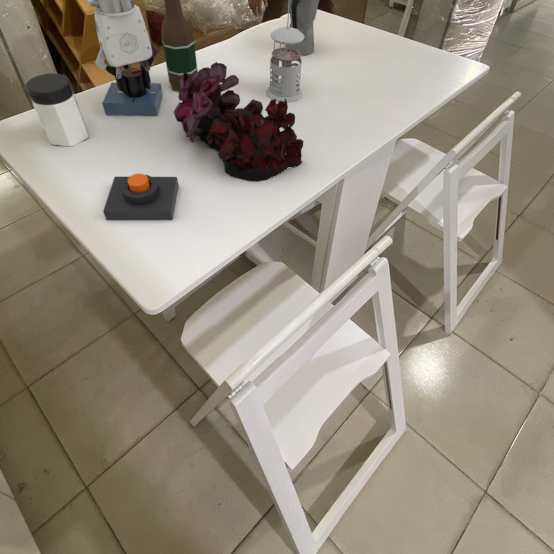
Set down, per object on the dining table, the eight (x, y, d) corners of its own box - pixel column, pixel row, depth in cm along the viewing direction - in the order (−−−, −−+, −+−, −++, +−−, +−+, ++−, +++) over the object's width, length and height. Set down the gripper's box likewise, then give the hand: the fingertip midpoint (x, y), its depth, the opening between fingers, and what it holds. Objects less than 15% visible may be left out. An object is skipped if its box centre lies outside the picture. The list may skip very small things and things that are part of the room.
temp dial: (130, 99, 94) (125, 77, 90) (123, 90, 96) (117, 69, 92) (150, 94, 96) (145, 72, 92) (141, 86, 98) (137, 64, 94)
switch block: (106, 220, 73) (99, 203, 70) (117, 185, 79) (111, 168, 76) (172, 220, 74) (168, 203, 71) (178, 185, 80) (175, 169, 77)
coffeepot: (292, 38, 127) (297, -31, 113) (320, 44, 125) (328, -26, 111) (275, 57, 118) (277, -15, 103) (305, 64, 116) (311, -10, 102)
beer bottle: (163, 84, 105) (143, -27, 86) (188, 75, 109) (173, -33, 90) (180, 96, 102) (163, -17, 83) (205, 86, 105) (194, -24, 86)
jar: (48, 129, 90) (23, 75, 81) (85, 122, 93) (66, 69, 83) (51, 151, 86) (25, 96, 76) (91, 143, 88) (71, 89, 78)
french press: (272, 104, 101) (275, -13, 81) (258, 83, 108) (259, -31, 88) (308, 99, 103) (320, -17, 84) (292, 78, 110) (300, -33, 90)
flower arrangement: (314, 154, 88) (323, 87, 77) (254, 198, 79) (254, 129, 67) (215, 104, 100) (209, 39, 88) (152, 136, 90) (136, 68, 78)
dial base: (106, 115, 95) (101, 102, 93) (114, 94, 101) (111, 81, 99) (157, 115, 96) (154, 103, 93) (162, 95, 102) (160, 82, 99)
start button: (128, 193, 73) (125, 185, 71) (131, 181, 75) (129, 173, 73) (148, 193, 73) (146, 186, 71) (151, 181, 75) (149, 173, 74)
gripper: (79, 15, 76) (107, 106, 90) (161, 0, 83) (175, 87, 97) (66, 3, 80) (95, 92, 94) (145, -11, 86) (161, 74, 101)
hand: (135, 88), depth 95 cm, fingers closed on temp dial, 4 cm apart
